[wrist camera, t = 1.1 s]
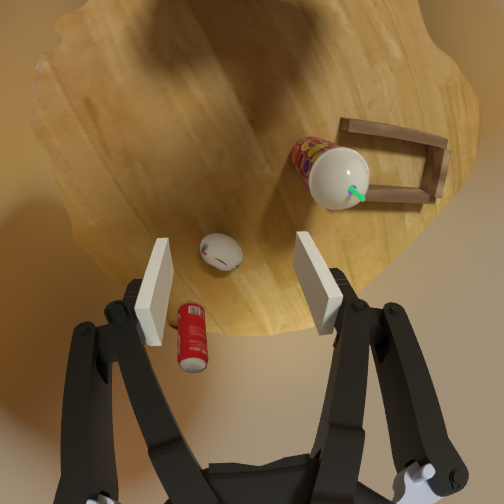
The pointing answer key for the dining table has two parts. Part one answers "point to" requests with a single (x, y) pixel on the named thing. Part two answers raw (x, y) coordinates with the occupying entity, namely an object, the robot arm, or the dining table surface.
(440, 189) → the u rest
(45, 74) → the dining table surface
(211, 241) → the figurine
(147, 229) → the dining table surface
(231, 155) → the dining table surface
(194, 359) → the beverage can
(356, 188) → the smoothie
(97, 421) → the robot arm
